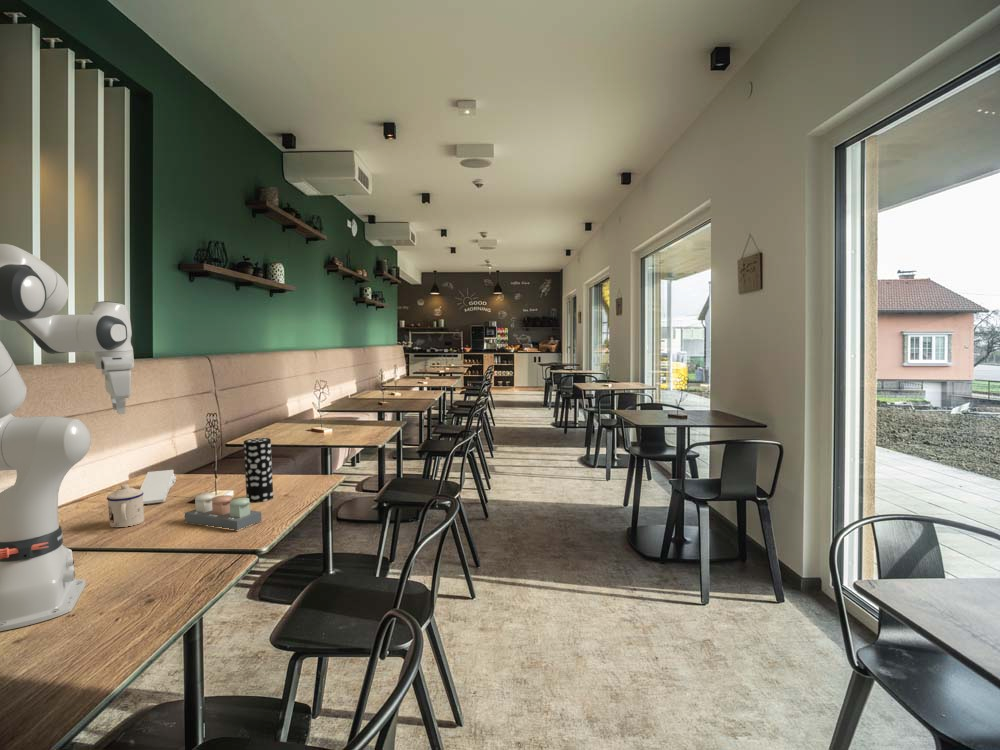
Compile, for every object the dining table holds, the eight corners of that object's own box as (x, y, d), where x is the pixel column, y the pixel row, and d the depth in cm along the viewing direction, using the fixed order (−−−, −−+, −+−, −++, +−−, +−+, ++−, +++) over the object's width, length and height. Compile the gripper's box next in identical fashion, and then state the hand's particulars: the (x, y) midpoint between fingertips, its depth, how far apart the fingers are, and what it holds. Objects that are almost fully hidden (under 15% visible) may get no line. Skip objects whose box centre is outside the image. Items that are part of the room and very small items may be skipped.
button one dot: (219, 509, 173) (218, 493, 172) (204, 514, 168) (203, 498, 167) (207, 507, 175) (206, 492, 174) (192, 512, 170) (191, 496, 169)
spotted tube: (277, 498, 192) (274, 439, 191) (253, 504, 186) (250, 443, 185) (266, 493, 198) (263, 437, 196) (242, 499, 192) (239, 440, 190)
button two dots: (254, 515, 167) (253, 498, 167) (239, 520, 162) (238, 503, 162) (240, 513, 169) (240, 496, 169) (226, 518, 164) (225, 501, 164)
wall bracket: (164, 520, 189) (174, 488, 214) (168, 499, 188) (178, 470, 213) (129, 517, 185) (143, 485, 210) (134, 496, 184) (147, 466, 209)
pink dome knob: (236, 512, 170) (235, 496, 169) (221, 517, 165) (221, 501, 165) (223, 510, 172) (222, 494, 171) (209, 515, 167) (208, 499, 167)
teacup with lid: (111, 521, 171) (108, 483, 170) (146, 516, 175) (144, 479, 174) (104, 534, 160) (101, 493, 159) (142, 528, 164) (140, 489, 163)
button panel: (261, 521, 169) (261, 511, 168) (237, 531, 161) (236, 520, 160) (210, 513, 177) (209, 503, 177) (185, 522, 169) (184, 512, 168)
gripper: (97, 360, 161) (101, 408, 163) (104, 364, 146) (109, 417, 147) (123, 358, 165) (127, 405, 167) (133, 363, 150) (138, 414, 151)
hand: (119, 411), depth 157 cm, fingers open, 8 cm apart
